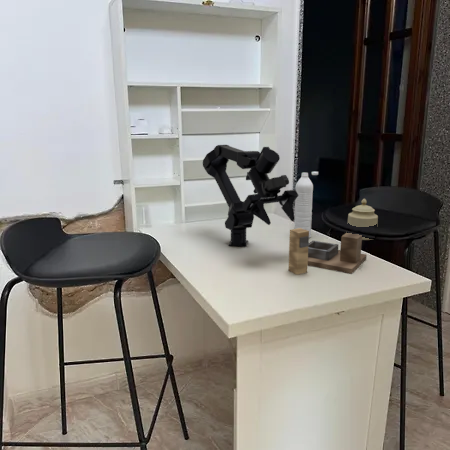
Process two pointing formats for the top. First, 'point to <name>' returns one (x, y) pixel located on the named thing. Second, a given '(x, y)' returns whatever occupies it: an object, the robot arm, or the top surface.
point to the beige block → (298, 251)
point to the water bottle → (304, 203)
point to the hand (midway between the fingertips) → (281, 222)
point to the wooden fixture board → (337, 254)
